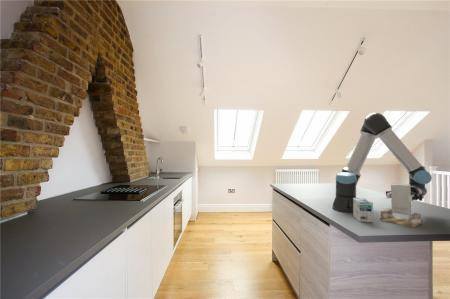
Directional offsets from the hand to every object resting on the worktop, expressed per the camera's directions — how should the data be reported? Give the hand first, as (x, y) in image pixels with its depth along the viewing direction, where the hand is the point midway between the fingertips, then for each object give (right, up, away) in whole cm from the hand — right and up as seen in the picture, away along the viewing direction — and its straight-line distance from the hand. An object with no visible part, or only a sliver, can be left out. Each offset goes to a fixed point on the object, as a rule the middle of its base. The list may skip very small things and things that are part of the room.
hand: (397, 197), depth 122 cm
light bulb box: (-15, -14, +6) cm, 21 cm away
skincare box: (+4, -9, +3) cm, 10 cm away
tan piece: (+3, -14, +3) cm, 14 cm away
